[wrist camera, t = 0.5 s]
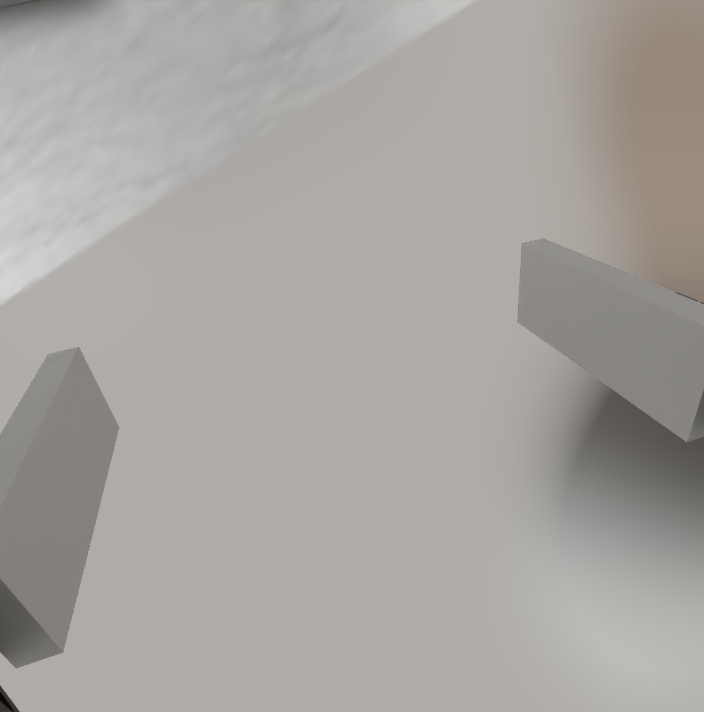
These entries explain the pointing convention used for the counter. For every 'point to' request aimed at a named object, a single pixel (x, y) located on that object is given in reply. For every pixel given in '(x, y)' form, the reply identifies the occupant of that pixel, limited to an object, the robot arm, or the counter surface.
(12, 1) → the bin
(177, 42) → the counter surface
